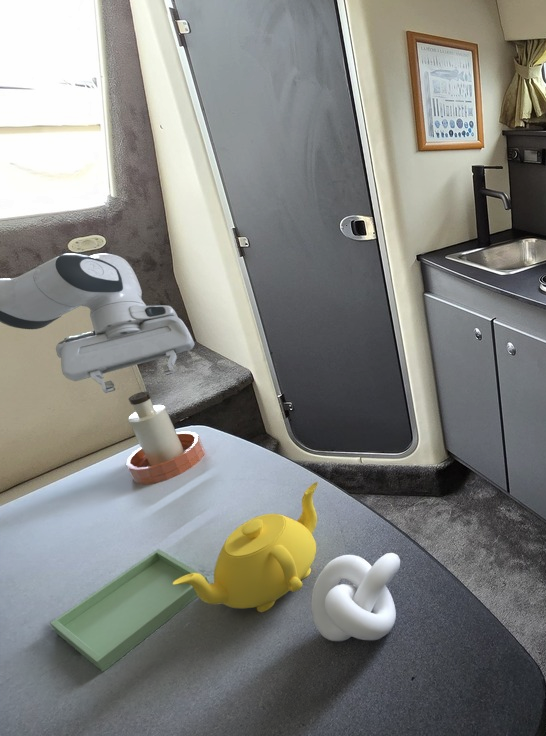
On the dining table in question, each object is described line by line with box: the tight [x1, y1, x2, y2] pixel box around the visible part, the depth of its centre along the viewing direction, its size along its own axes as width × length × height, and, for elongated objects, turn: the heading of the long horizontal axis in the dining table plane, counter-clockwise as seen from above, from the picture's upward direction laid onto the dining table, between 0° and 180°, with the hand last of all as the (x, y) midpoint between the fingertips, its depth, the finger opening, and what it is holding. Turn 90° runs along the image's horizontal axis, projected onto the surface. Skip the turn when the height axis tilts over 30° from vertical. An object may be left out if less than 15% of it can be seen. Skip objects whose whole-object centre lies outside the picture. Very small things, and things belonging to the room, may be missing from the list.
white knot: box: [310, 552, 401, 642], centre depth 68 cm, size 11×12×9 cm
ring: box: [125, 431, 205, 485], centre depth 100 cm, size 11×12×5 cm
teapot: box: [173, 481, 319, 613], centre depth 74 cm, size 20×15×12 cm
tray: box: [49, 548, 210, 673], centre depth 73 cm, size 13×13×2 cm
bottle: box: [127, 391, 186, 466], centre depth 98 cm, size 6×6×17 cm
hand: (140, 381), depth 101 cm, fingers open, 8 cm apart
